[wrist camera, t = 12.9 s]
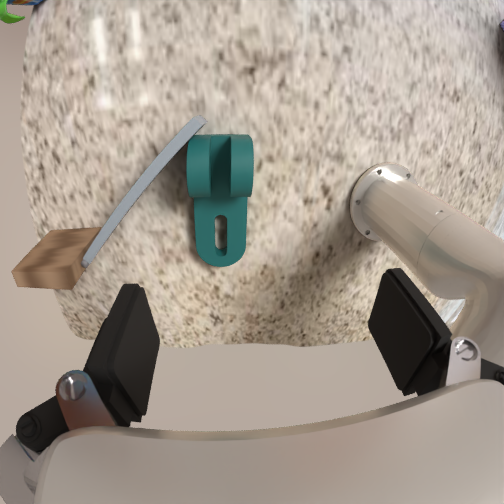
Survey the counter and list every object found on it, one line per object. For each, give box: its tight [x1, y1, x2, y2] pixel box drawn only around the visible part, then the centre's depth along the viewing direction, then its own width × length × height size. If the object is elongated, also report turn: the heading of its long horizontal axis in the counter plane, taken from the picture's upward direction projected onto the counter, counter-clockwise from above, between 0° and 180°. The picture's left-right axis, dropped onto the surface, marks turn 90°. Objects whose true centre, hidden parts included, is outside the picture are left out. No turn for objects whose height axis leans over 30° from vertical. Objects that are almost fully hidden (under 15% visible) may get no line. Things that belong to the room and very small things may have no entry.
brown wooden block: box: [12, 227, 102, 290], centre depth 31 cm, size 10×2×12 cm, turn 88°
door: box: [81, 115, 207, 268], centre depth 30 cm, size 22×1×8 cm, turn 133°
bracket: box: [187, 134, 254, 267], centre depth 33 cm, size 18×7×8 cm, turn 178°
